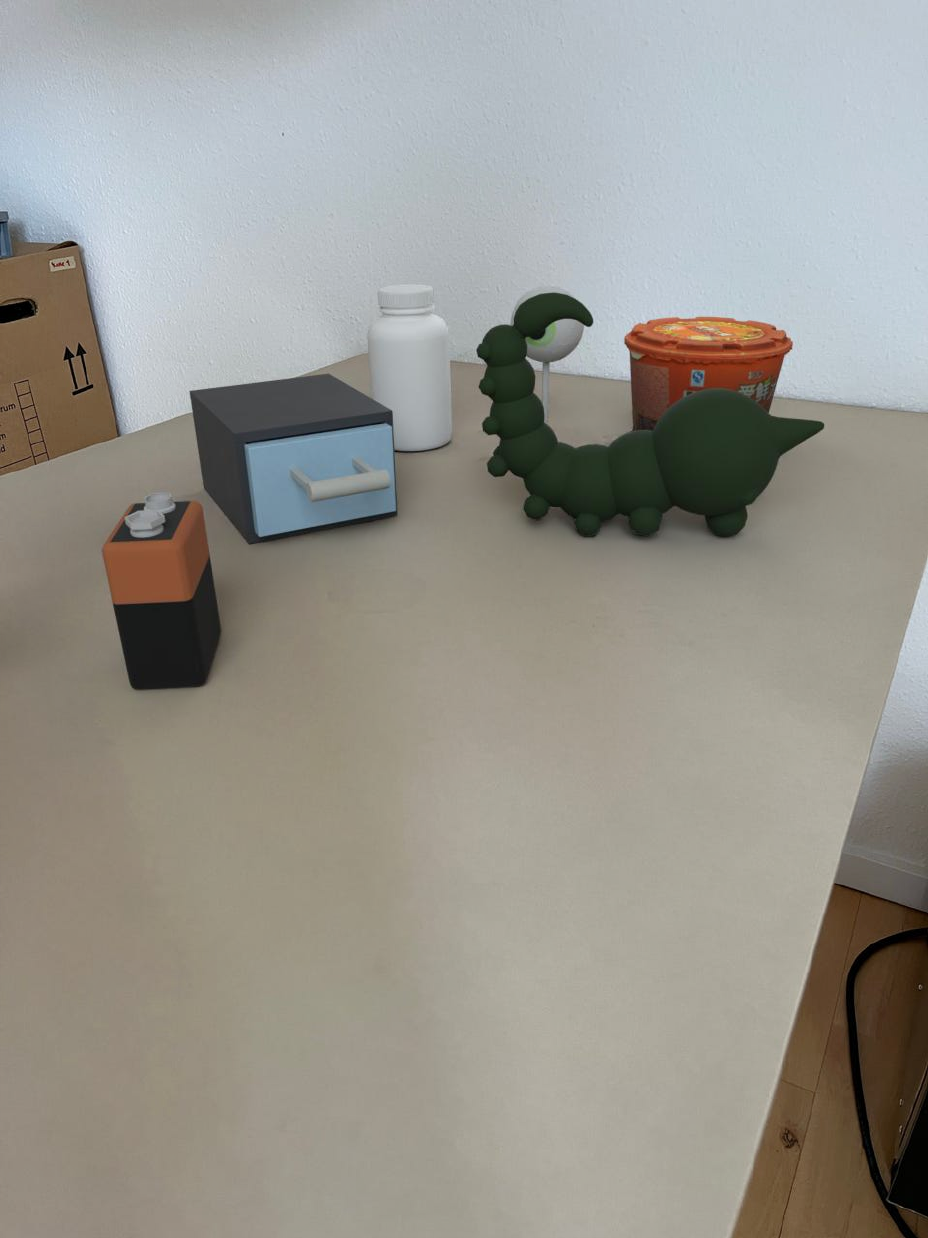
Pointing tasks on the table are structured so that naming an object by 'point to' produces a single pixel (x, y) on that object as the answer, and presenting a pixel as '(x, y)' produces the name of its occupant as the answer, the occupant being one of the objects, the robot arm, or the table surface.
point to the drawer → (320, 477)
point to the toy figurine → (629, 443)
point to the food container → (701, 362)
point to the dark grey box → (271, 434)
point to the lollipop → (551, 340)
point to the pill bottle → (411, 366)
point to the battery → (163, 593)
